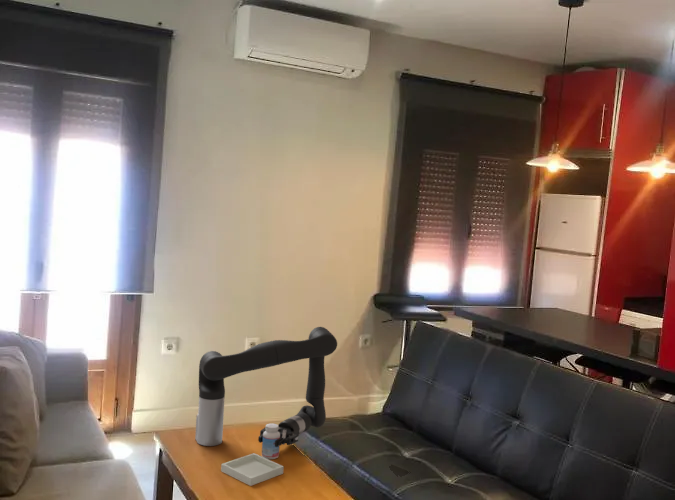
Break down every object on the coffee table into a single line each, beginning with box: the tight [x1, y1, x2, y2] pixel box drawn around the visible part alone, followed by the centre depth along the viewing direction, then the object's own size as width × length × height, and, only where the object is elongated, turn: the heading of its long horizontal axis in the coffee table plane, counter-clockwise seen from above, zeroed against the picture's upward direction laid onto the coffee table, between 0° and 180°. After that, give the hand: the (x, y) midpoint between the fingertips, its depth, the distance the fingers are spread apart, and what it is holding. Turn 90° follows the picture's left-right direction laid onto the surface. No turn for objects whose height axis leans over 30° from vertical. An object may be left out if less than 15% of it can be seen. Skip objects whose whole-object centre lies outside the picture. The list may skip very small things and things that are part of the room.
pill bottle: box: [261, 423, 280, 460], centre depth 247 cm, size 6×6×11 cm
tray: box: [220, 452, 285, 487], centre depth 233 cm, size 15×15×2 cm
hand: (267, 441), depth 244 cm, fingers closed on pill bottle, 6 cm apart
